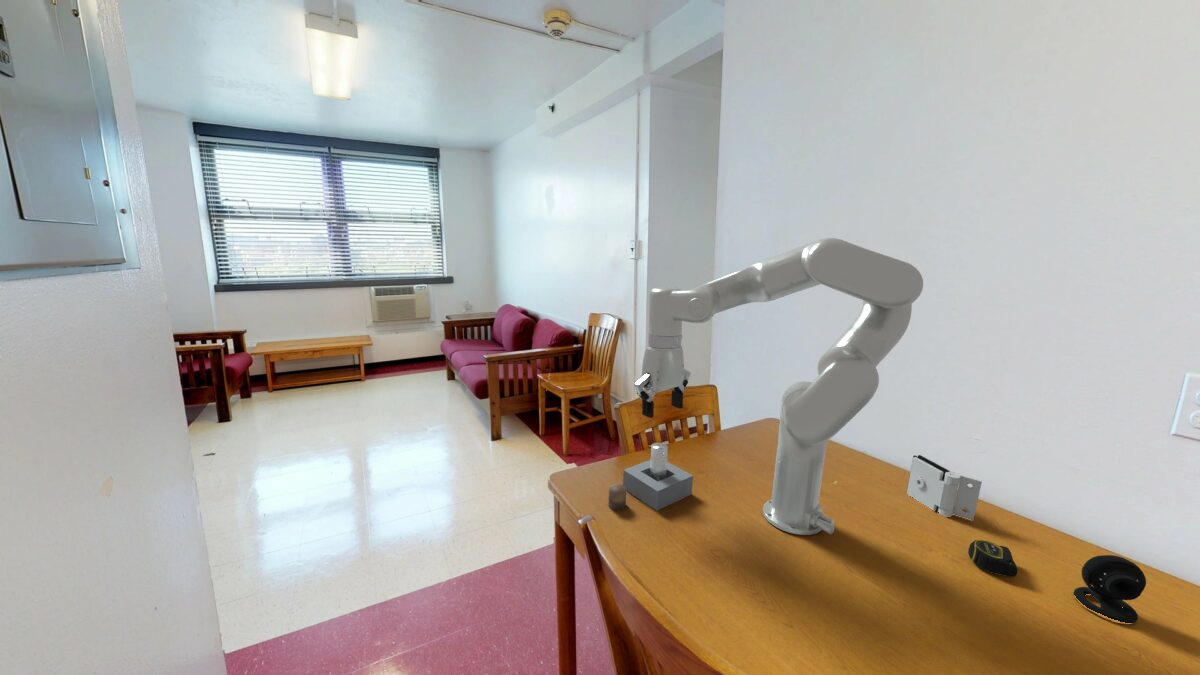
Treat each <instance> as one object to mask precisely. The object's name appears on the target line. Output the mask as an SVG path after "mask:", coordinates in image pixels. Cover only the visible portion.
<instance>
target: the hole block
mask: <svg viewBox="0 0 1200 675" xmlns="http://www.w3.org/2000/svg"><path fill="white" fill-rule="evenodd" d="M650 463H651V459H649V460H645V461H643V462H640V463H638V464H635V465H632V466H630V467H628V468H625V469H623V472H622V473H623V474H622V485H624V486H625V487H626V492H628V493H629V494H631V495H632V496H634V497H635V498H637V499H638V500H639V501H641V502H643V503H644V504H645V505H647V506H648V507H650V508H652V509H653V510H654V511H659V510H661V509H664V508H666V507H669V505H673V504H675V503H676V502H678V501H680V500H683V499H685V498H687V497H689V496H691V495H692V494H693V482H694V481H693V480H694V476H693V474H691V473H689V472H687V471H685V470H683V469H682V468H680V467H678V466H676V465H674V464H673V463H670V462H669V461H667V473H666V478H665V479H663V480H660V481H656V480H654V479H653V478H651V477H650Z"/></svg>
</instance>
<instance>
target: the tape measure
mask: <svg viewBox="0 0 1200 675" xmlns="http://www.w3.org/2000/svg"><path fill="white" fill-rule="evenodd" d="M967 552H968V553H967V554H968V556H969V557H968V558H970V560H971V561H972V562H973V564H974V565H975V566H977V567H978V568H981V569H982V570H984V571H986V572H988V571H989V572H988V573H991V572H992V573H991V574H995V573H996V575H999V574H1000V576H1004V577H1005V576H1006V577H1008V578H1015V577H1017V575H1018V573H1019V571H1018V570H1019V569H1018V566H1017V564H1016V562H1015V561H1014V559H1013V558H1014V557H1013V555H1012V552H1011V550H1010V549H1009V547H1007V546H1005V545H998V544H996V543H994V542H991V541H987V540H983V539H976V540H975V539H974V540H973V541H972V542H970V544H969V547H968V551H967Z"/></svg>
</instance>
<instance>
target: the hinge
mask: <svg viewBox="0 0 1200 675" xmlns="http://www.w3.org/2000/svg"><path fill="white" fill-rule="evenodd" d="M908 478H909V479H908V483H907V488H906V495H907V494H908V497H910V496H911V497H910V498H912V497H913V498H914V499H913V498H912V499H913V500H915V499H916V500H915V501H916V502H918V501H919V502H918V503H920V502H921V503H922V504H921V503H920V504H921V505H923V504H924V505H926V506H927V507H929V508H930V509H932V510H936V511H937V513H938V512H939V514H941V515H944V516H949V517H950V516H952V517H953V515H952V514H955V515H958V516H961V517H965V518H968V519H971V520H973V521H974V520H975V515H976V510H977V505H978V502H979V498H980V497H979V496H980V492H981V487H982V482H983V480H982V479H979V478H975V477H971V476H968V475H964V474H961V473H957V472H955V471H954V470H952V469H950V468H948V467H946V466H944V465H942V464H940V463H938V462H937V461H934V460H932V459H931V458H929V457H927V456H923V455H921V454H919V455H913V456H912V460H911V466H910V472H909V477H908ZM969 485H972V486H969ZM924 505H923V506H924ZM926 506H925V507H926ZM927 507H926V508H927ZM937 507H938V508H937ZM929 508H928V509H929ZM930 509H929V510H930ZM964 509H966V511H964ZM932 510H931V511H932ZM939 514H938V515H939ZM941 515H940V516H941Z"/></svg>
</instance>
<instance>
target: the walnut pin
mask: <svg viewBox="0 0 1200 675" xmlns="http://www.w3.org/2000/svg"><path fill="white" fill-rule="evenodd" d="M626 503H627V491H626V487H625V486H624V485H623V483H622V484H621V483H613V484H611V485H609V487H608V508H609V509H610V510H613V511H615V512H616V511H617V512H618V511H623V510H624V509H626V508H627V507H626V506H627V504H626Z"/></svg>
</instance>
